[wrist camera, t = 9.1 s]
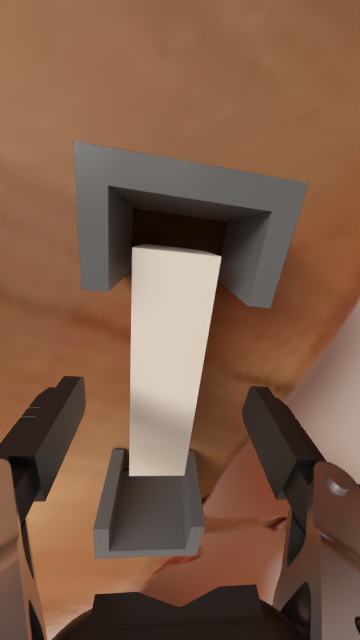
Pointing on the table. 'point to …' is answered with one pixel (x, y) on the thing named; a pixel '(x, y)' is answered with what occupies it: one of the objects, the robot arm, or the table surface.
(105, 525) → the cap
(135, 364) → the white rectangular block
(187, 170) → the cap
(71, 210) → the table surface
